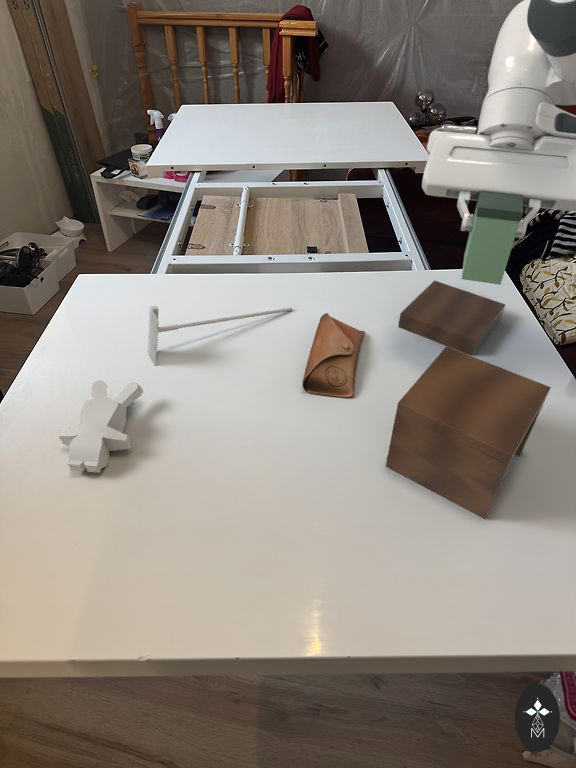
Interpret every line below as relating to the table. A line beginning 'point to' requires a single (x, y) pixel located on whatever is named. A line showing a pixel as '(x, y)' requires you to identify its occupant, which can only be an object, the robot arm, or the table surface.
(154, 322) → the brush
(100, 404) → the white musician cutout
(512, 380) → the upper shelf
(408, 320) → the lower shelf
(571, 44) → the robot arm
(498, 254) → the green lidded box
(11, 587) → the table surface
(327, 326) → the sunglasses case
